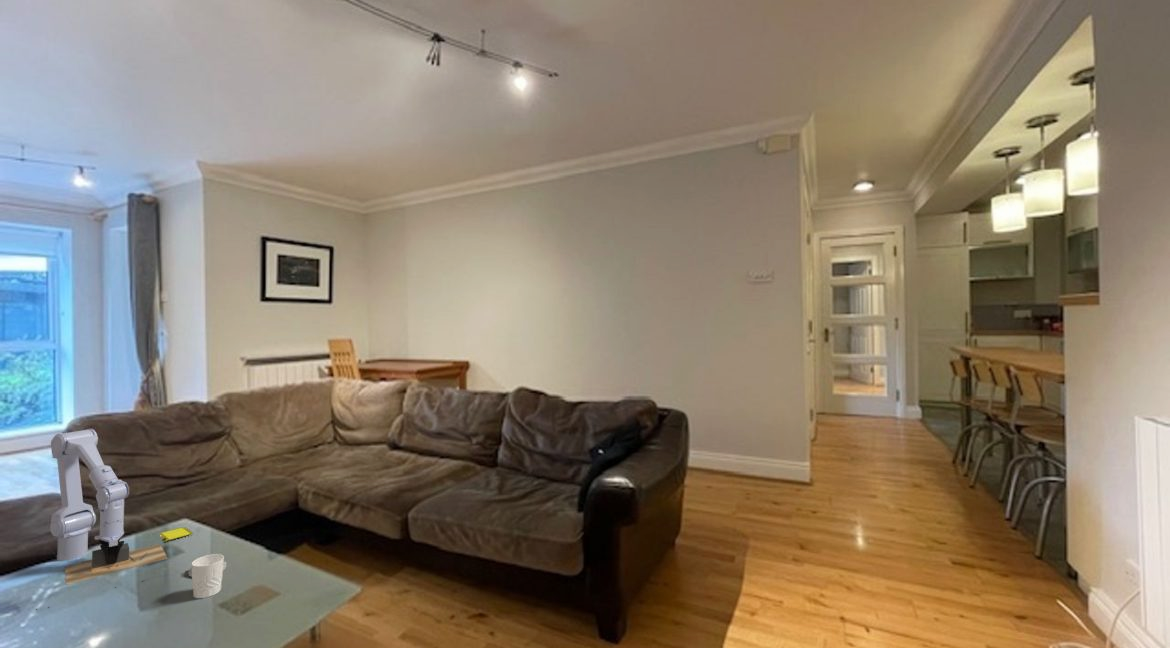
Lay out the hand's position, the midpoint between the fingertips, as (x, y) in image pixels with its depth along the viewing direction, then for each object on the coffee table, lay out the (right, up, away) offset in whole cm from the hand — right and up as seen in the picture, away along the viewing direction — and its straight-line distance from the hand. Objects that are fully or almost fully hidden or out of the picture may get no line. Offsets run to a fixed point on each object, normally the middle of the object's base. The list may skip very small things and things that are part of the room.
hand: (110, 561), depth 164 cm
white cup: (+43, -3, -14) cm, 45 cm away
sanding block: (0, -1, 0) cm, 1 cm away
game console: (-3, -3, +22) cm, 23 cm away
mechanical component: (+33, -3, -1) cm, 33 cm away
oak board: (+1, -2, +1) cm, 3 cm away
